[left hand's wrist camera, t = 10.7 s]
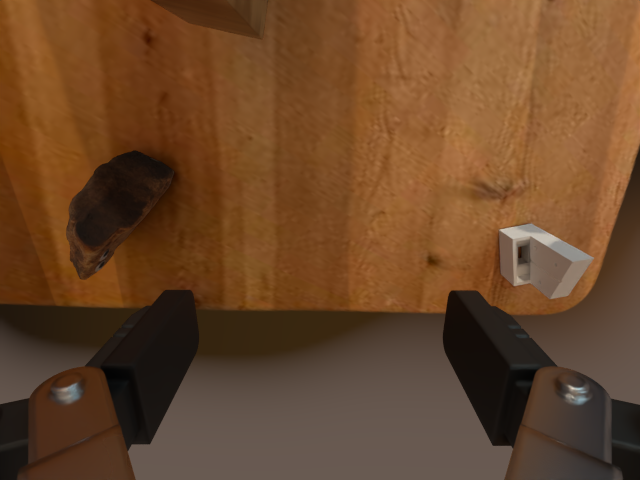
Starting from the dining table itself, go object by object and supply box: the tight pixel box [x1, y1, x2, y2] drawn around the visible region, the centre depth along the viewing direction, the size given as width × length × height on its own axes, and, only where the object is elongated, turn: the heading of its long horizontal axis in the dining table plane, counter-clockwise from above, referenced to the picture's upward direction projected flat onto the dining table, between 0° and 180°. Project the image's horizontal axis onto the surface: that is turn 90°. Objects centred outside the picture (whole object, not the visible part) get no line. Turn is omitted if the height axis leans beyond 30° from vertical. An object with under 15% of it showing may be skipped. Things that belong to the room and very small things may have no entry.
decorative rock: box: [66, 151, 174, 280], centre depth 35 cm, size 12×6×11 cm, turn 140°
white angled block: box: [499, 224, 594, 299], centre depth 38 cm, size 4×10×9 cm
